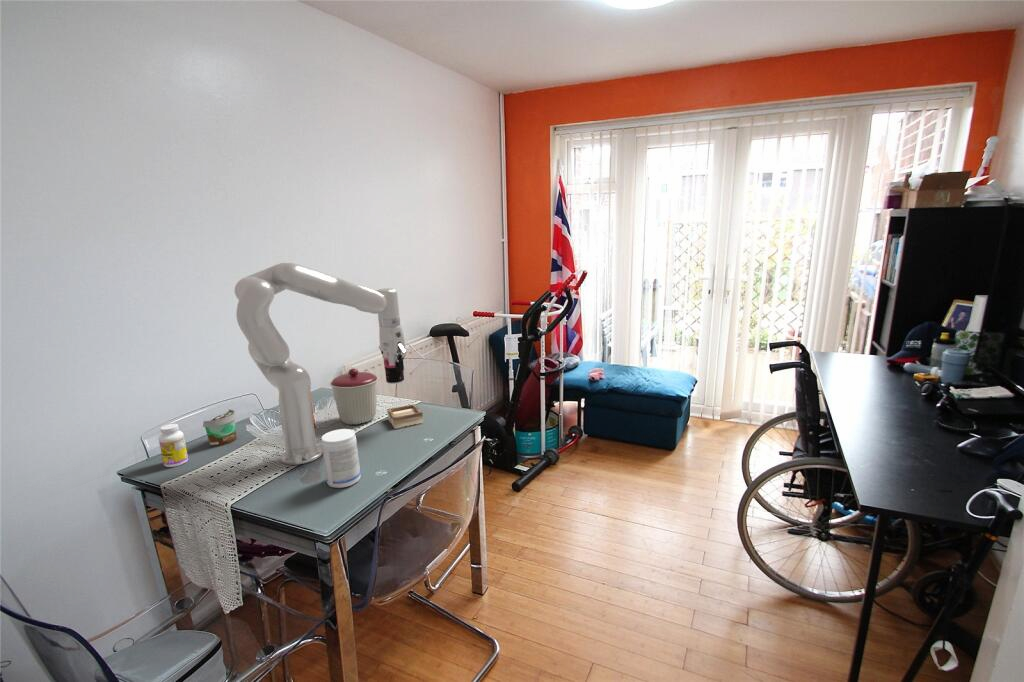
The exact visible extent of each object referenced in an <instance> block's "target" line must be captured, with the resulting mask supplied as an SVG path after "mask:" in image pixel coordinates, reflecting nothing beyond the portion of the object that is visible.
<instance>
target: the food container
mask: <svg viewBox="0 0 1024 682" xmlns="http://www.w3.org/2000/svg"><path fill="white" fill-rule="evenodd" d="M237 418H238V415H237V413H236V411H235V410H233V409H228V412H225V413H224V414H220V415H217V416H215V417H214V418H212V419H211V420H204V421H203V423H202V426H203V428H205V431H206V435H207V436H206V437H207V439H208V443H209V446H210V447H211V446H216V447H221V445H222V446H226V445H229V444H231V443H233V442H235V441H236V440H237V431H236V430H237V429H236V427H237V426H236V425H237V424H236V419H237ZM225 444H226V445H225Z"/></svg>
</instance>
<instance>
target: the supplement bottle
mask: <svg viewBox="0 0 1024 682" xmlns="http://www.w3.org/2000/svg"><path fill="white" fill-rule="evenodd" d="M160 433H161V435H159V436H158V442H159V446H160V447H159V449H160V452H161V457H162V463H163V466H164V467H167V468H175V467H178V466H181V465H184V464H186V463H187V462H188V460H189V454H188V450H187V444H186V440H185V434H184V432H183V431H181V430H180V427H179V424H177V423H169V424H165V425H163V426H161V427H160Z"/></svg>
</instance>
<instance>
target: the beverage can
mask: <svg viewBox="0 0 1024 682" xmlns="http://www.w3.org/2000/svg"><path fill="white" fill-rule="evenodd" d="M398 352H400V350H397V353H398ZM383 355H384V358H383V365H384V364H385V367H384V372H385V380H386V381H385V382H387V384H389V385H391V384H392V385H395V384H400V383H402V382H404V380H405V373H404V371H400V372H396V367H395V362H396V359H395V357H394V354H392V352H391V348H390V346H389V344H384V343H383ZM383 355H382V356H383ZM399 355H400V354H398V355H397V356H398V357H399Z"/></svg>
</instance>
